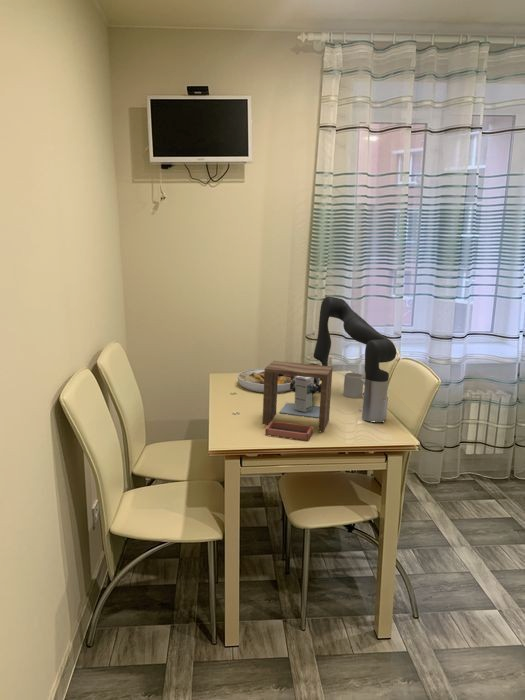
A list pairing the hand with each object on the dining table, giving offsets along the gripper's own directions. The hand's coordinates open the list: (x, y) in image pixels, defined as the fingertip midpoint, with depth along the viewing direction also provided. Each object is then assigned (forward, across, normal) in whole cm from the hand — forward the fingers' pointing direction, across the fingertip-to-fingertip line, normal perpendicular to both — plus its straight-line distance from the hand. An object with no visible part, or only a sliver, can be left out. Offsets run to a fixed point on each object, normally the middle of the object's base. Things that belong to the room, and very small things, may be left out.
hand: (303, 391), depth 215 cm
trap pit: (+25, 0, +9) cm, 27 cm away
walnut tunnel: (+12, 0, +10) cm, 15 cm away
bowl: (-35, -24, +10) cm, 44 cm away
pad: (-3, 0, +10) cm, 10 cm away
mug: (-34, +18, +10) cm, 39 cm away
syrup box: (-2, 0, +9) cm, 9 cm away
